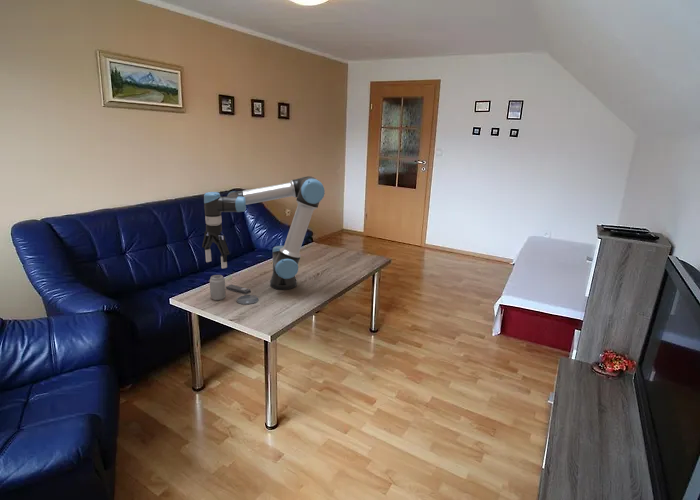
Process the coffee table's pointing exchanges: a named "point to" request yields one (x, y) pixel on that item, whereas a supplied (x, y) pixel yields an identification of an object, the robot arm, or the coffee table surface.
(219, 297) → the can
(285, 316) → the coffee table surface
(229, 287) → the remote
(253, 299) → the coaster
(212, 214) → the robot arm
